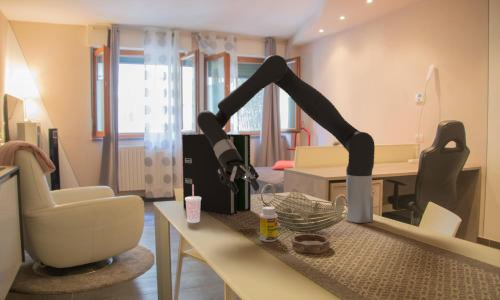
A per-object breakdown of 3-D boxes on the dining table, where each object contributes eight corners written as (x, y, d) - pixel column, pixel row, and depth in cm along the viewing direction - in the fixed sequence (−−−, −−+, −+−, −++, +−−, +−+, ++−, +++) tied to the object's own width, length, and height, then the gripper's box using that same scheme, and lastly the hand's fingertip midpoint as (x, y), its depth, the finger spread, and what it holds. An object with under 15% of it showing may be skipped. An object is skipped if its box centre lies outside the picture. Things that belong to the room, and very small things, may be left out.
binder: (251, 210, 165) (251, 134, 163) (228, 216, 153) (227, 135, 151) (206, 202, 182) (205, 133, 180) (182, 207, 170) (180, 134, 168)
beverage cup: (197, 218, 150) (196, 182, 150) (204, 221, 145) (204, 184, 144) (182, 220, 147) (182, 184, 146) (189, 224, 142) (188, 186, 141)
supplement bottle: (266, 243, 118) (266, 210, 118) (256, 239, 123) (256, 207, 122) (281, 240, 122) (281, 208, 121) (270, 236, 126) (270, 205, 125)
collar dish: (325, 242, 119) (325, 233, 119) (331, 254, 108) (331, 244, 108) (290, 242, 119) (290, 233, 119) (293, 254, 109) (293, 244, 109)
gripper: (214, 148, 132) (234, 186, 123) (247, 147, 140) (268, 182, 132) (206, 163, 136) (225, 200, 128) (239, 160, 145) (258, 195, 137)
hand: (247, 191), depth 130 cm, fingers open, 8 cm apart
